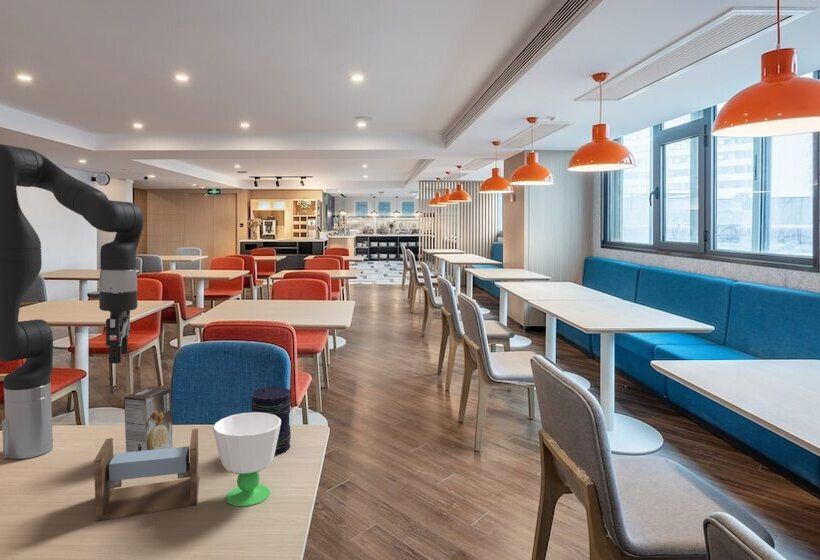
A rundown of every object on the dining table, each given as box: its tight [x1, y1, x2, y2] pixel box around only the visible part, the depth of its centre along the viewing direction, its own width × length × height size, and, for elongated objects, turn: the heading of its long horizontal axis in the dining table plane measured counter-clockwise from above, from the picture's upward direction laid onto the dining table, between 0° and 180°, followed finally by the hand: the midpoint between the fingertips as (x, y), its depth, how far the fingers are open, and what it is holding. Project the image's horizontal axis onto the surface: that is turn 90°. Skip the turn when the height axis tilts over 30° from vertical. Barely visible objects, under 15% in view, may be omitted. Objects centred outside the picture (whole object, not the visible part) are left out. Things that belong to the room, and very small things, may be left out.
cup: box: [212, 412, 281, 508], centre depth 105 cm, size 14×14×16 cm
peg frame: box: [93, 428, 200, 522], centre depth 103 cm, size 18×11×12 cm, turn 111°
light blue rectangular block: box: [109, 445, 190, 481], centre depth 103 cm, size 14×5×4 cm, turn 107°
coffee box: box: [123, 386, 173, 452], centre depth 124 cm, size 9×6×16 cm
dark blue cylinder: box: [250, 386, 292, 457], centre depth 129 cm, size 10×10×15 cm
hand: (118, 358), depth 115 cm, fingers open, 8 cm apart
